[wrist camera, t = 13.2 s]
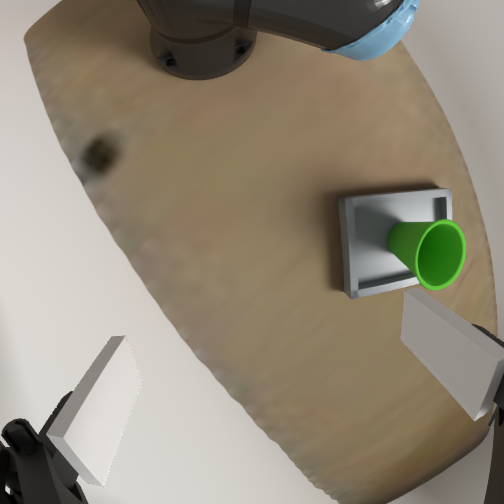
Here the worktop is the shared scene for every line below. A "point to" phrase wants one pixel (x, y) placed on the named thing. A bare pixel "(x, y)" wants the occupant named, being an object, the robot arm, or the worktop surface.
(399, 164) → the worktop surface
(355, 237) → the grey tray
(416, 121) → the worktop surface
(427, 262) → the cup
